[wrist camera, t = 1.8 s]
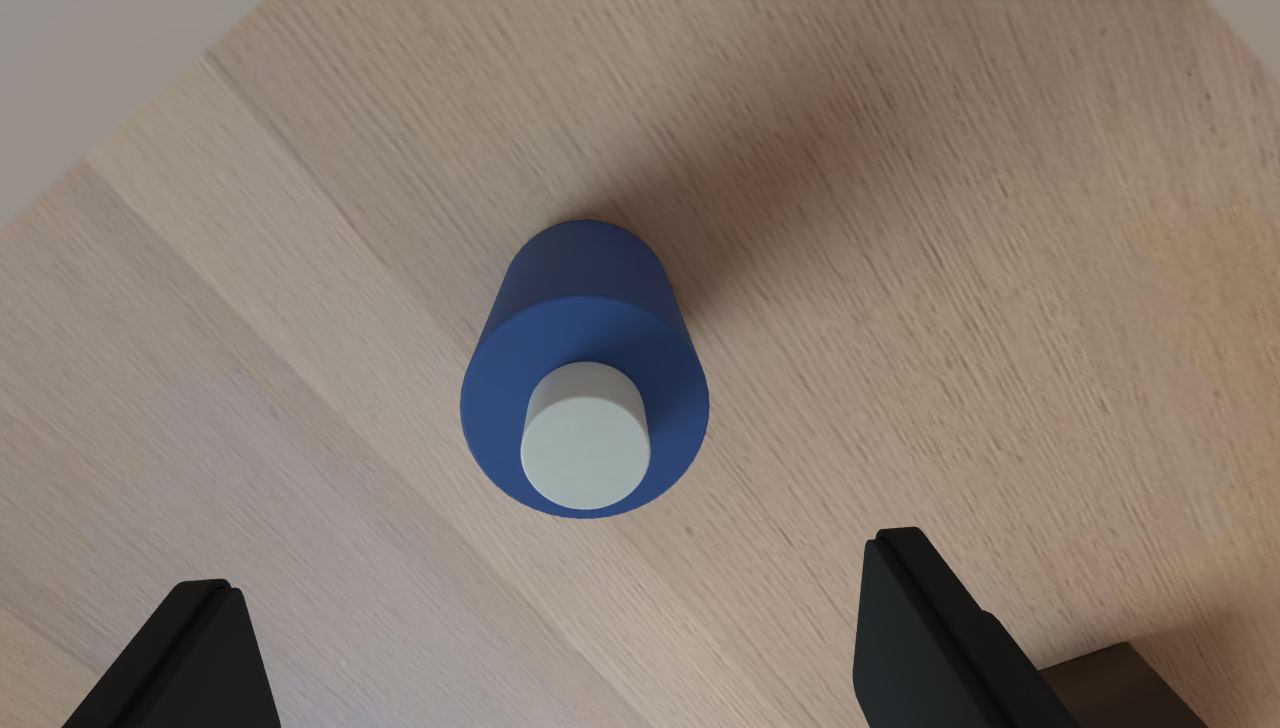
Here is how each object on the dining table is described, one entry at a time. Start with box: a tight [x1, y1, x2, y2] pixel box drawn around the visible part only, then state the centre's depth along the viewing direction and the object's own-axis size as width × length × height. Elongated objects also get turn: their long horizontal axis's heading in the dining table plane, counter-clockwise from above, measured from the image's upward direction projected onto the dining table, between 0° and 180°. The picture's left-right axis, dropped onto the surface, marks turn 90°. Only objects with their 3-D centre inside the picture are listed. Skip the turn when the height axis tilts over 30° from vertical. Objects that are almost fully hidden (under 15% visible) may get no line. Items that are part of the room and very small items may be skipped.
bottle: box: [460, 220, 709, 519], centre depth 21 cm, size 6×6×11 cm
